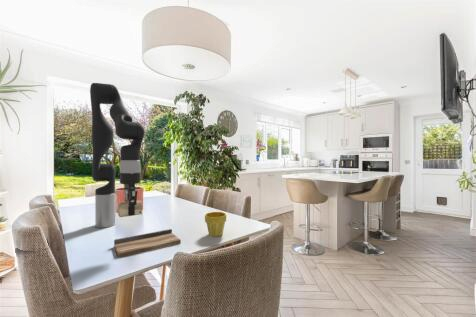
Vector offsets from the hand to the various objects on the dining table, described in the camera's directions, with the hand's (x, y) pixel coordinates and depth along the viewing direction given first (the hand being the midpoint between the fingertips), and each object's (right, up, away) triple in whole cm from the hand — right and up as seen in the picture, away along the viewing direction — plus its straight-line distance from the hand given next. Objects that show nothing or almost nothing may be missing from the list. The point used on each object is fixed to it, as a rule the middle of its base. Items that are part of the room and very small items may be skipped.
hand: (130, 214), depth 90 cm
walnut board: (+5, -14, +5) cm, 16 cm away
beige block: (0, 0, 0) cm, 0 cm away
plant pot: (+32, -15, +19) cm, 40 cm away
